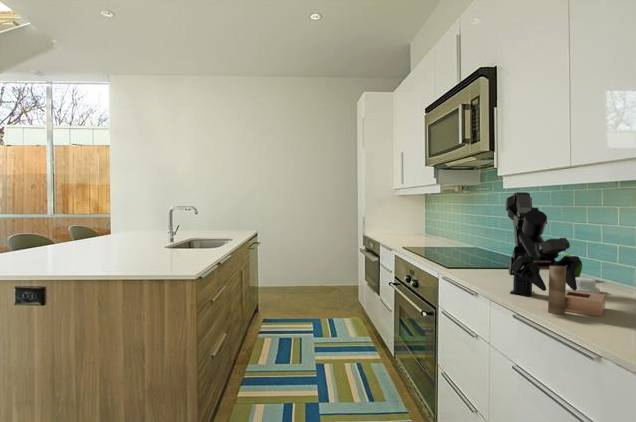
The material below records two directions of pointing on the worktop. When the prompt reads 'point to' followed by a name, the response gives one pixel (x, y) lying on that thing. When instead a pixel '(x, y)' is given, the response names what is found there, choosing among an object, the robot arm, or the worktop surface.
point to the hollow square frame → (584, 302)
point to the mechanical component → (585, 285)
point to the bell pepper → (578, 270)
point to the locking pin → (557, 289)
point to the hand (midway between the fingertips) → (560, 290)
